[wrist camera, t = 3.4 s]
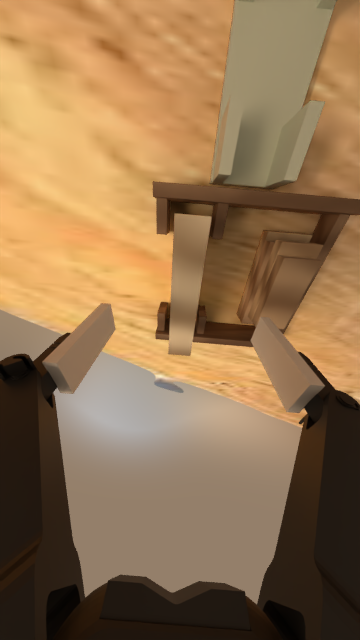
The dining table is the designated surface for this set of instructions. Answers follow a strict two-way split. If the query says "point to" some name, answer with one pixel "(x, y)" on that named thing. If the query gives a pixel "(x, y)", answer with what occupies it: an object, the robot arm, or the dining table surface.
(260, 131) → the display stand
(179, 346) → the plywood sheet
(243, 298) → the rack
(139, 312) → the dining table surface
